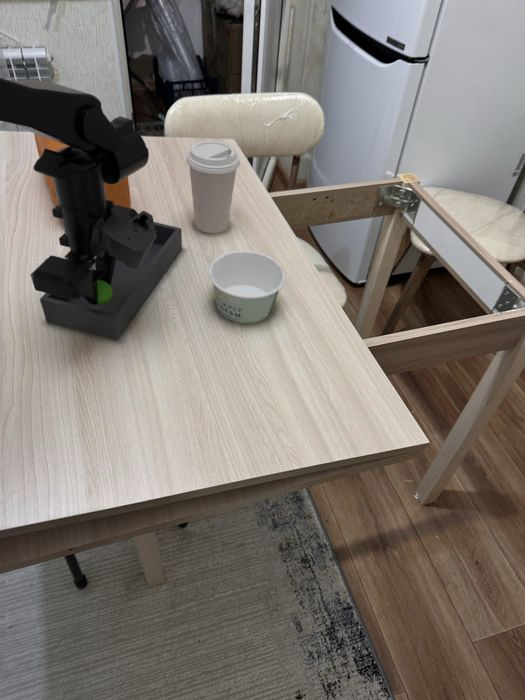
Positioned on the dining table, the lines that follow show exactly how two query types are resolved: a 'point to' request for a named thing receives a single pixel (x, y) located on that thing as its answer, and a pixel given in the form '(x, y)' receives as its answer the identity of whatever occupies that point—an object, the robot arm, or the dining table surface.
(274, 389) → the dining table surface
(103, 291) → the pea
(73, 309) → the tray
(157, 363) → the dining table surface
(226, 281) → the food container
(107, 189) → the bread
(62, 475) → the dining table surface
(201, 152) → the coffee cup
